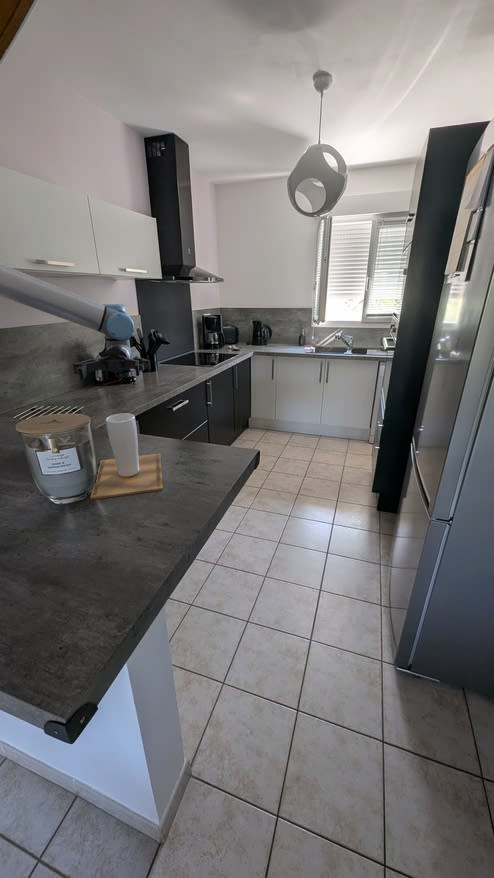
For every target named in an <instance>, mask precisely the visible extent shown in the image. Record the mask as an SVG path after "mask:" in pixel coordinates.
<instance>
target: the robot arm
mask: <svg viewBox="0 0 494 878" xmlns="http://www.w3.org/2000/svg"><path fill="white" fill-rule="evenodd" d="M0 297H2V298H5V299H7V300H10V301H13V302H16V303H18V304H20V305H24V306H27V307H30V308H32V309H34V310H38V311H41V312H44V313H46V314H49V315H52V316H54V317H57V318H60V319H63V320H65V321H68V322H71V323H74V324H75V325H76V324H77V325H80V326H81V327H84V328H87V329H91V330H93V331H96V332H99V333H101V334H104V341H105V347H106V350H105V351H104V353H103V355H102V357H99V358H98V359H97V360H96V358H95V357H91V358H89V359H86V360H83V361H79V362H75V363H72V371H73V374H74V375H75V374H76V375H77V374H78V375H79V378H80V380H85V378H87V376H88V375H89V373H92V372H96V371H103V372H104V371H109V372H110V373H113V374H119V373H120V374H121V373H123V372H124V371H126V370H130V369H131V370H135V376H136V377H140V374H141V373H140V372H144V371H145V370H148V371H150V370H151V369H152V368H151V367H152V366H151V360H150V359H146V358H143V357H140V356H138V355H135V356H133V353H132V352H133V351H132V348H131V344H130V343H131V342H130V338H131V337H132V336H133V334H134V332H135V323H134V320H133V319H132V317H131V316H129V315H128V313H127V311H126V307H125V305H124V304H123V303H103V304H101V303H99V302H97V301H94V300H91V299H89V298H87V297H84V296H82V295H79V294H78V293H77V294H76V293H75V292H72V291H69V290H67V289H65V288H62V287H59V286H58V285H54V284H52V283H49V282H47V281H44V280H42V279H39V278H37V277H35V276H32V275H30V274H27V273H24V272H23V271H20V270H17V269H15V268H12V267H10V266H7V265H5V264H3V263H1V262H0ZM132 356H133V357H132Z"/></svg>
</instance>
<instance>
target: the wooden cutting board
mask: <svg viewBox="0 0 494 878" xmlns="http://www.w3.org/2000/svg"><path fill="white" fill-rule="evenodd" d="M138 457H139V467H140V471H139V472H138V473H137V474H136V475H134V476H130V477H122V476H120V475H119V474H118V470H117V465H116V462H115V458H110V459H109V458H108V459H102V460H100V463H99V466H98V468H97V472H98V475H97V474H96V476H97V480H96V483H95V482H94V483H95V484H94V483H93V486H92V490H91V494H90V497H89V498H90V500H91V501H92V500H100V499H107V498H115V497H122V496H128V495H135V494H136V495H137V494H143V493H152V492H158V491H164V490H163V489H164V488H163V474H162V473H163V472H162V459H161V453H153V454H143V455H138Z"/></svg>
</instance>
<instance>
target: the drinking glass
mask: <svg viewBox="0 0 494 878" xmlns="http://www.w3.org/2000/svg"><path fill="white" fill-rule="evenodd" d="M105 425H106V431H107V436H108V441H109V444H110V447H111V450H112V451H111V452H112V454H113V459H115V462H116V465H117V470H118V474H119V475H120V476H122V477H130V476H134V475H136V474H137V473H138V472H139V471H140V467H139V457H138V456H139V439H138V427H137V421H136V416H135V415H134V414H132V413H128V412H125V413H124V412H122V413H116V414H111V415H109V416H108V417H106V418H105Z"/></svg>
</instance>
